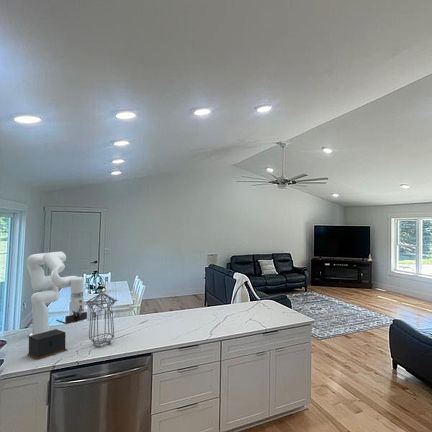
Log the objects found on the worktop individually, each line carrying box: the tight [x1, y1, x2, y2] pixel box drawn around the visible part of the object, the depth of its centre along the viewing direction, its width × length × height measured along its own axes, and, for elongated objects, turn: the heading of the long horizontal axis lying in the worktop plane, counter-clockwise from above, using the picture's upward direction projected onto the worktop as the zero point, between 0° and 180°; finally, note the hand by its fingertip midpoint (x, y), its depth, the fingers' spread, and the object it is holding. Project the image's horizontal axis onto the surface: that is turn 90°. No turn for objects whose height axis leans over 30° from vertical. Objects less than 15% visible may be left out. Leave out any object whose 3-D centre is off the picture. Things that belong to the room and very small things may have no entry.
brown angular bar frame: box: [55, 311, 88, 325], centre depth 234 cm, size 13×14×5 cm
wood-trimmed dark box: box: [27, 328, 67, 360], centre depth 212 cm, size 14×16×12 cm
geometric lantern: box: [85, 292, 119, 348], centre depth 226 cm, size 16×16×35 cm
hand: (76, 321), depth 231 cm, fingers closed on brown angular bar frame, 1 cm apart
